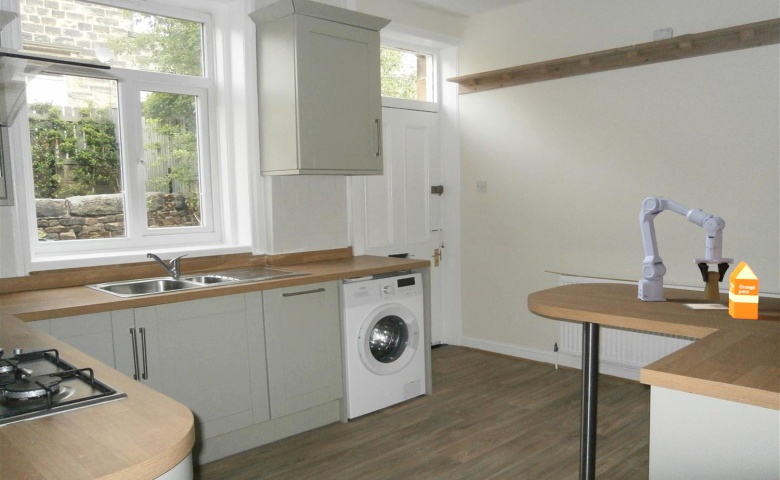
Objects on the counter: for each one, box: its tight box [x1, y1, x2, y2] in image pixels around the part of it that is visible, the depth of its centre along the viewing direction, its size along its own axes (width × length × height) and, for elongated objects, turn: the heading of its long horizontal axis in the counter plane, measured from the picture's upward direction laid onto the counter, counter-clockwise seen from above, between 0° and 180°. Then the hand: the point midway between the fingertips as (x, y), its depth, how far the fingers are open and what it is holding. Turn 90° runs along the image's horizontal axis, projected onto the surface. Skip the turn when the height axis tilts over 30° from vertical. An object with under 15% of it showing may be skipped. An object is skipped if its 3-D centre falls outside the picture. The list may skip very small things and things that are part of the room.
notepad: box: [681, 303, 729, 311], centre depth 235 cm, size 15×11×1 cm
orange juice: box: [728, 261, 760, 320], centre depth 217 cm, size 8×9×20 cm
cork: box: [702, 270, 721, 301], centre depth 234 cm, size 6×6×11 cm
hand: (712, 281), depth 234 cm, fingers closed on cork, 5 cm apart
